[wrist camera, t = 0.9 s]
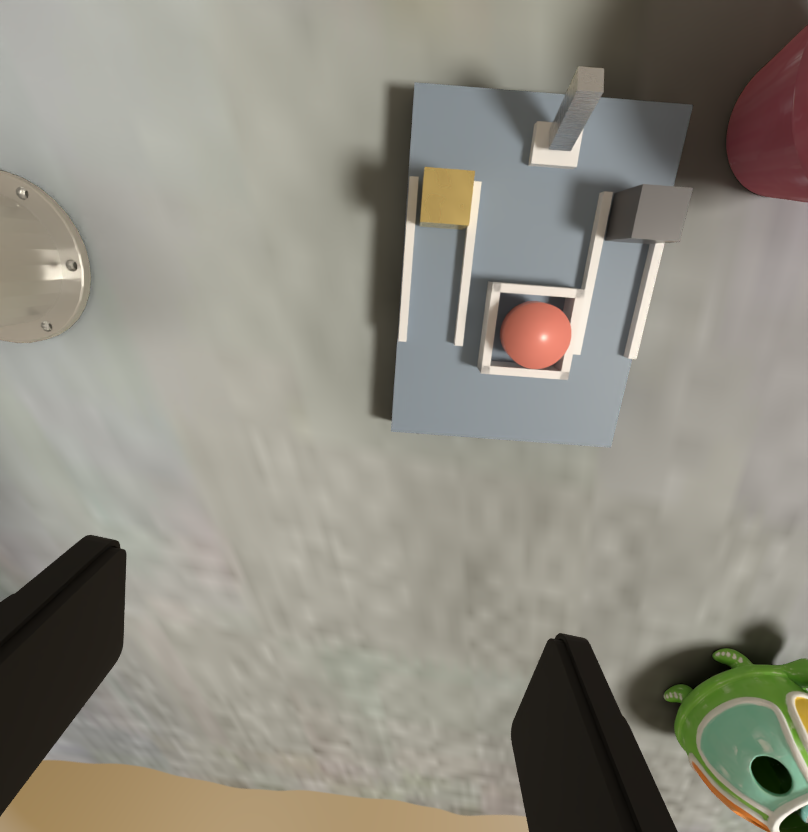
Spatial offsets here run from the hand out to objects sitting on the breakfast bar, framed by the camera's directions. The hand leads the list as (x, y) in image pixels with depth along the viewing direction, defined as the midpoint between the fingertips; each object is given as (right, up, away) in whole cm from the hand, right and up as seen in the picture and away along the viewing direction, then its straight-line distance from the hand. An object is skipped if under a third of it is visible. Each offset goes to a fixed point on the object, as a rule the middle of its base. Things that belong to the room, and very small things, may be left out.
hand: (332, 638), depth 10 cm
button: (+11, +11, +22) cm, 27 cm away
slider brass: (+4, +19, +21) cm, 29 cm away
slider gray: (+17, +18, +21) cm, 33 cm away
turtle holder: (+37, -24, +39) cm, 58 cm away
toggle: (+11, +22, +19) cm, 32 cm away
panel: (+10, +15, +25) cm, 31 cm away
